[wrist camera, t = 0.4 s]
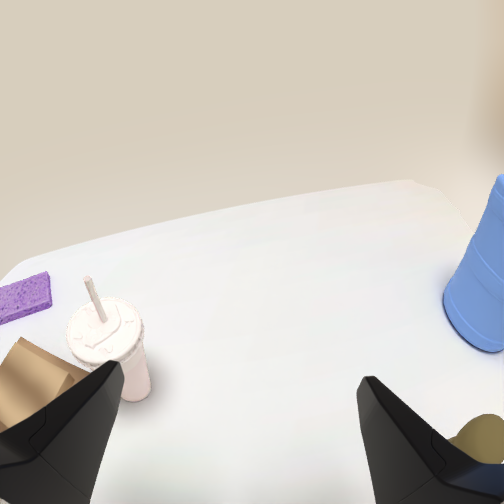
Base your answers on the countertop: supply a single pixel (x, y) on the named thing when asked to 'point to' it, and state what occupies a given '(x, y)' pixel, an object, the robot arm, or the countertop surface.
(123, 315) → the smoothie
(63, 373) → the walnut base
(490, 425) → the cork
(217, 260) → the countertop surface
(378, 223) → the countertop surface
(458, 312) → the water jug
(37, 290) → the sponges
